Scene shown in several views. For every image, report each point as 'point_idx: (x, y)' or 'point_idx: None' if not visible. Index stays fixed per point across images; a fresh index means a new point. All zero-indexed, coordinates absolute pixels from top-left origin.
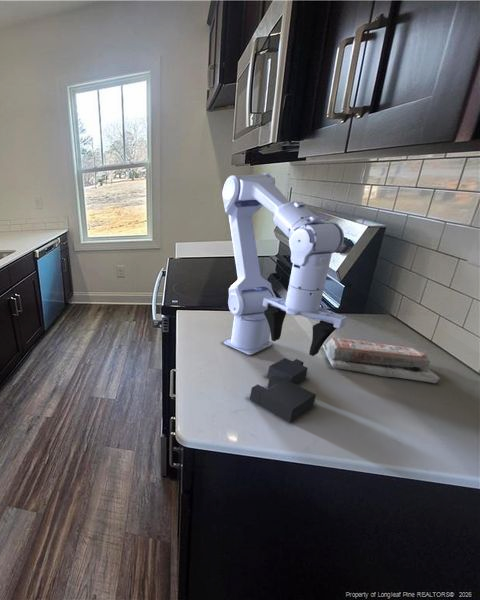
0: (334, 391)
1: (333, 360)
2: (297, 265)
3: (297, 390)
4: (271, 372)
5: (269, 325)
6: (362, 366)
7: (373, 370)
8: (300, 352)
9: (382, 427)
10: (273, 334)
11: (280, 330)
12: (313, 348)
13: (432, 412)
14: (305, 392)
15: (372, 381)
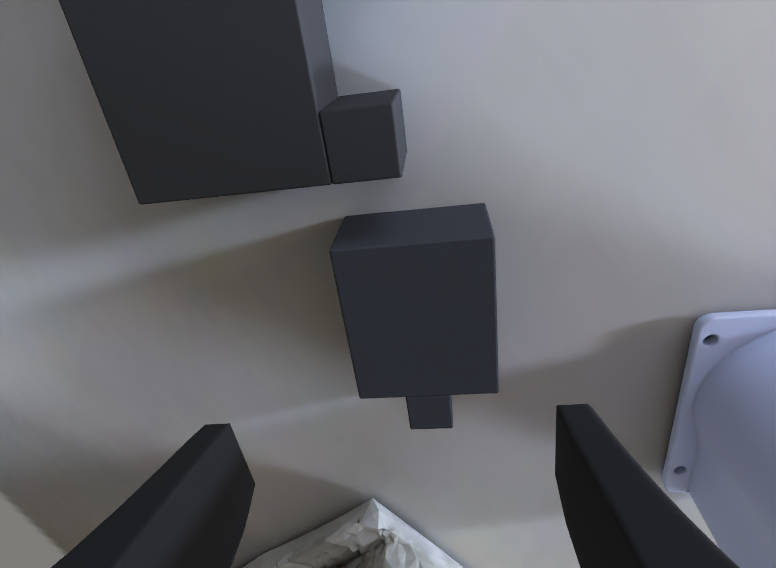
0: (250, 363)
1: (384, 534)
2: None
3: (198, 137)
4: (467, 223)
5: (728, 566)
6: (302, 560)
7: (276, 562)
8: (528, 511)
9: (15, 294)
10: (596, 462)
11: (585, 565)
12: (152, 482)
13: (71, 482)
14: (166, 162)
15: (253, 511)
